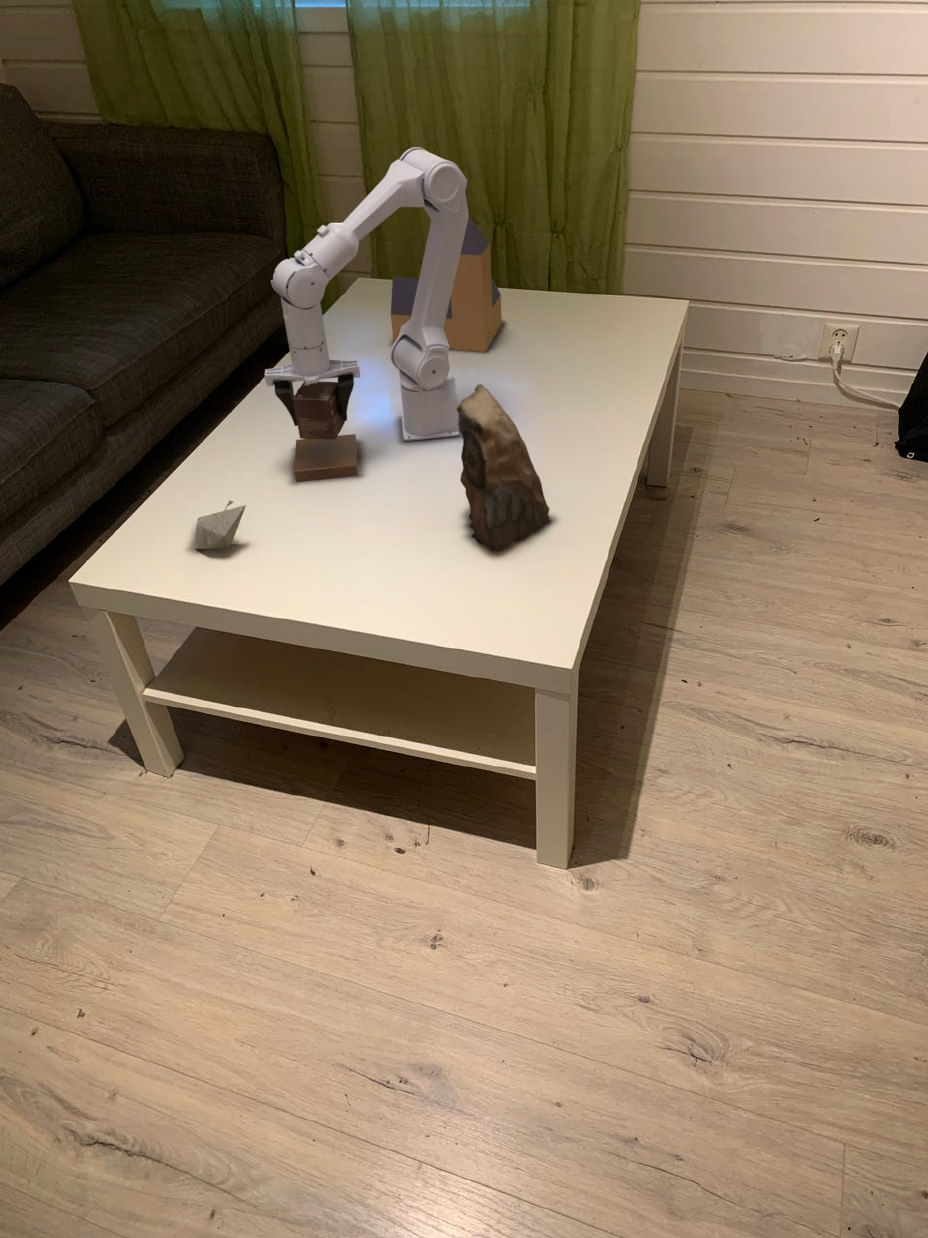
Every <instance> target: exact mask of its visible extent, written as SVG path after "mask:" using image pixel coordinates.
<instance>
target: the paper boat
mask: <svg viewBox="0 0 928 1238" xmlns="http://www.w3.org/2000/svg"><path fill="white" fill-rule="evenodd" d="M233 503H234V501H233V500H231V499H229V500H228V502H227V504H226V506H225V508H224V510H222V511H218V512H215V513H214V512H213V513H211V514H208V515H204V516H200V517H197V522H196V530H195V539H194V540H195V541H194V549H196V550H204V549H207V550H208V549H227V548H229V547H230V546H231V545H232V543H233V541H234V538H235V535H236V533H237V531H238V528H239V525H240V523H241V520H242V518H243V515H244V512H245V510H246V507H247V504H244V505H239V506H236V507H232V508H229V509H227V508H228V507H229V506H230V505H232V504H233Z"/></svg>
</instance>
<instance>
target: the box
mask: <svg viewBox="0 0 928 1238" xmlns="http://www.w3.org/2000/svg"><path fill="white" fill-rule="evenodd" d="M302 382H303V383H301V385H300V387H298V389H297V391H296V392H295V393H294V397H293V402H294V408H295V414H296V420H297V425H298V426H297V429H298V435H299V439H321V440H335V439H336V438H337V436H339V435H340V433H341V432H342V429H343V427H344V425H345V423H346V421H343V420H342V410H341V401H340V395H339V390H338V381H319V382H318V383H313V384H306V383H305V381H302Z"/></svg>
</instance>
